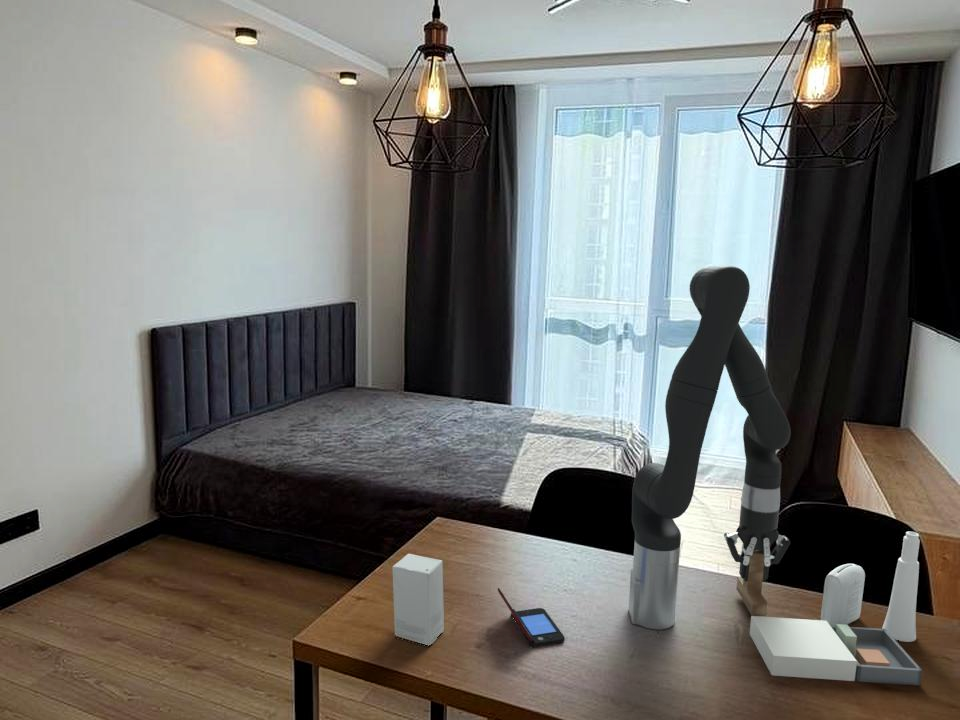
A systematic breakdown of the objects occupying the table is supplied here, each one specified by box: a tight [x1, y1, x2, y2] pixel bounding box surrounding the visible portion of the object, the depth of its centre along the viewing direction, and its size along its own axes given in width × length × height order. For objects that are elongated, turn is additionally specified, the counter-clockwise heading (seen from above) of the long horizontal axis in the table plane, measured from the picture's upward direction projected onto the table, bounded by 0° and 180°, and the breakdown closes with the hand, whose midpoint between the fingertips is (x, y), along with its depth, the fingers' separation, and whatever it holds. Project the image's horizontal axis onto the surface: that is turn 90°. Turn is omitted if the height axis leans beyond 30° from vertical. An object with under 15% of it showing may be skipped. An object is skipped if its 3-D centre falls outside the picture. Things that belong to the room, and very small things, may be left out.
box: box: [831, 626, 923, 686], centre depth 131 cm, size 11×14×3 cm
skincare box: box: [392, 553, 445, 647], centre depth 136 cm, size 8×7×16 cm
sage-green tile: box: [836, 624, 857, 656], centre depth 134 cm, size 4×4×2 cm
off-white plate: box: [749, 615, 857, 682], centre depth 132 cm, size 15×14×4 cm
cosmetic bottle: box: [881, 531, 921, 643], centre depth 139 cm, size 6×6×22 cm
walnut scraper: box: [736, 550, 768, 617], centre depth 148 cm, size 3×11×12 cm, turn 175°
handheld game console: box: [497, 587, 565, 649], centre depth 139 cm, size 12×11×7 cm
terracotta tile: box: [855, 649, 890, 667], centre depth 129 cm, size 4×4×2 cm
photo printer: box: [820, 563, 866, 626], centre depth 144 cm, size 10×4×12 cm, turn 123°
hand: (753, 579), depth 148 cm, fingers closed on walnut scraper, 3 cm apart
